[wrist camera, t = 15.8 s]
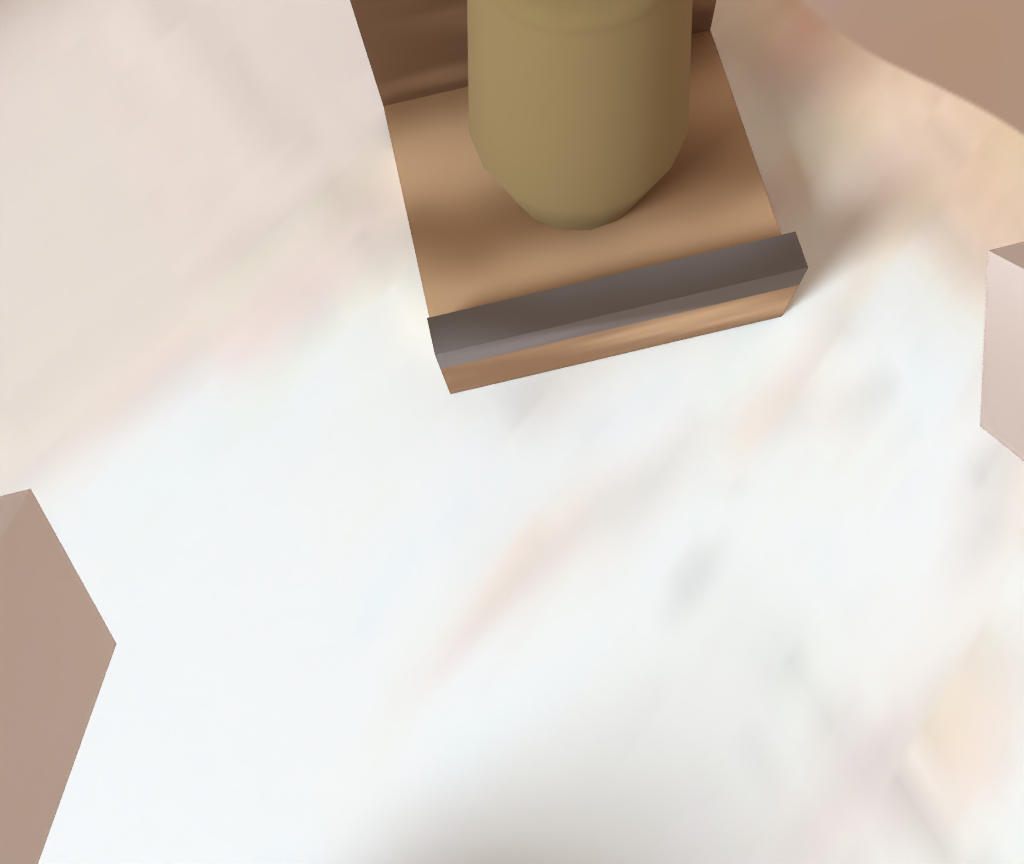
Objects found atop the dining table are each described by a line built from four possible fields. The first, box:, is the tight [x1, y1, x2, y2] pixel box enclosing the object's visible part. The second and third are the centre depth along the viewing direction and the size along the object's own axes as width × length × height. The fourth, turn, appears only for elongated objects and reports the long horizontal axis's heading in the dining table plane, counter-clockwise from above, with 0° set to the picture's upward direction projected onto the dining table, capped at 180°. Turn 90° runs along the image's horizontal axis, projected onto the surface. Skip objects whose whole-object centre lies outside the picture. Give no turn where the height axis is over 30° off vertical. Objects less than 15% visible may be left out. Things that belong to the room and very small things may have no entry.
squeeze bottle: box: [467, 0, 693, 230], centre depth 29 cm, size 8×8×18 cm
